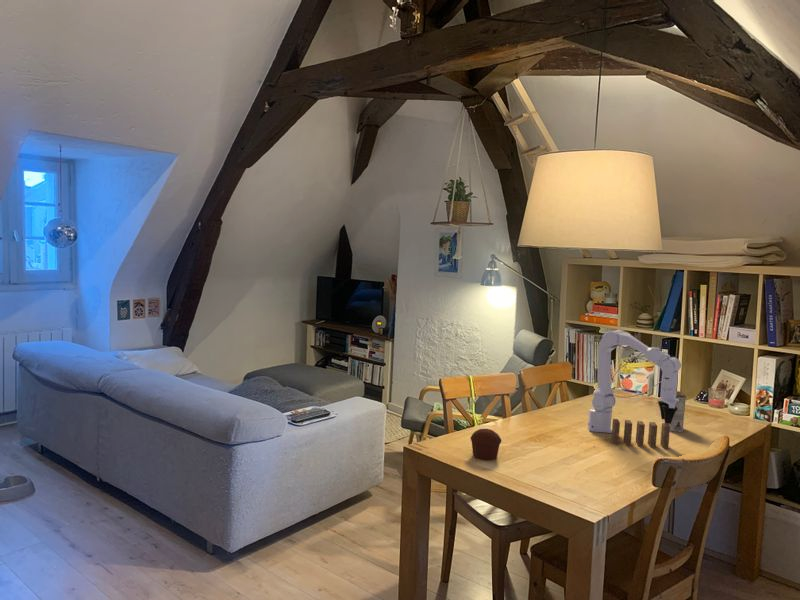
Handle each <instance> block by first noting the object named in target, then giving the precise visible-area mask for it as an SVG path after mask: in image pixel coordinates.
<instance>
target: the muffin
mask: <svg viewBox="0 0 800 600" xmlns="http://www.w3.org/2000/svg"><path fill="white" fill-rule="evenodd" d="M470 441H471V446H472V447H471V448H472V449H471V450H472V456H473V457H474V458H475V459H477V460H481V461H495V460H497V458H498V454H499V450H500V445H501V443H502V438H501V437H500V435H499V434H498V433H497V432H495V431H494V430H492V429H489V428H479V429H477V430H475V431H474V432H473V433H472V434H471V436H470Z"/></svg>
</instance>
